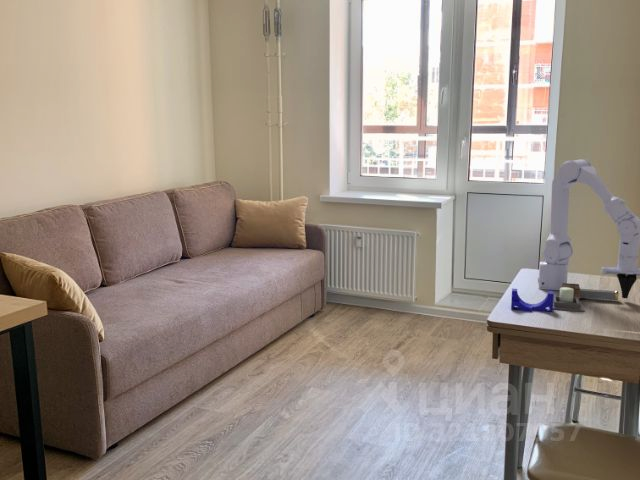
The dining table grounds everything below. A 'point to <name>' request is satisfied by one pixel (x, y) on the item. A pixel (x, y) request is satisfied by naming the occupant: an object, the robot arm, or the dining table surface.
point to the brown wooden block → (576, 289)
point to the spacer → (566, 295)
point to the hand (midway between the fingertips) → (624, 297)
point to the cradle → (567, 305)
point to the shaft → (599, 294)
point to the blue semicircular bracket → (529, 307)
